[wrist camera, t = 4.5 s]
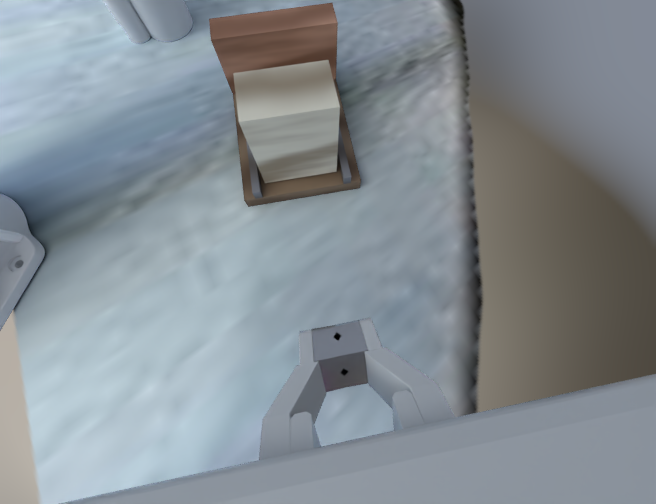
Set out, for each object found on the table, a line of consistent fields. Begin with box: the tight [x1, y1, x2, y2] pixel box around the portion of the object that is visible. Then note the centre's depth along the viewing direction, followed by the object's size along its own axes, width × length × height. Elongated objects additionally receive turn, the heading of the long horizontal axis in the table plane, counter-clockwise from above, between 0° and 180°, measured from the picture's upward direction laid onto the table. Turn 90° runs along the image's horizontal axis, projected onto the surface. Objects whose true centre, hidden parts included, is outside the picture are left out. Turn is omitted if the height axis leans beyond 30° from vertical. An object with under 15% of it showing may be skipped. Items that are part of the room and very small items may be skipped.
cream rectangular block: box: [233, 60, 340, 183], centre depth 26 cm, size 5×8×9 cm, turn 100°
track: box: [209, 3, 361, 207], centre depth 30 cm, size 18×13×8 cm
